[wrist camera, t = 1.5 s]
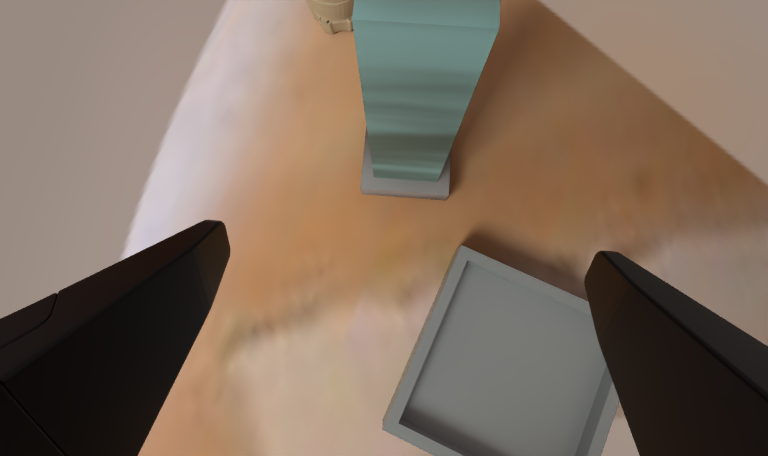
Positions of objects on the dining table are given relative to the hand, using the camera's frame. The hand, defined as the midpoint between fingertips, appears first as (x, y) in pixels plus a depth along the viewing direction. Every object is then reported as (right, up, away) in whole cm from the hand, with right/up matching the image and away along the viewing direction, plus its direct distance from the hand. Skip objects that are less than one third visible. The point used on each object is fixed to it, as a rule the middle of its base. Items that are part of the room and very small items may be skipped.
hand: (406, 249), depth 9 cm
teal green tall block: (+1, +5, +14) cm, 15 cm away
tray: (+6, -7, +12) cm, 15 cm away
